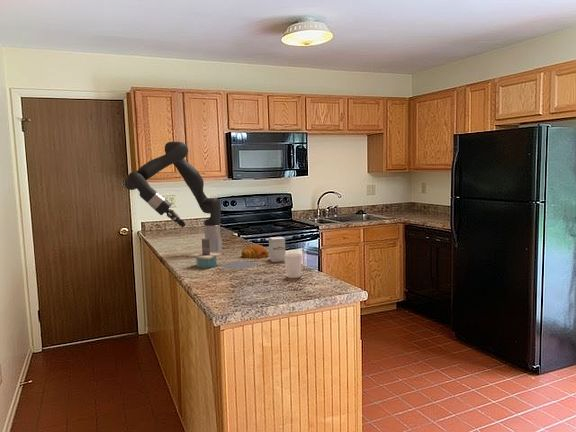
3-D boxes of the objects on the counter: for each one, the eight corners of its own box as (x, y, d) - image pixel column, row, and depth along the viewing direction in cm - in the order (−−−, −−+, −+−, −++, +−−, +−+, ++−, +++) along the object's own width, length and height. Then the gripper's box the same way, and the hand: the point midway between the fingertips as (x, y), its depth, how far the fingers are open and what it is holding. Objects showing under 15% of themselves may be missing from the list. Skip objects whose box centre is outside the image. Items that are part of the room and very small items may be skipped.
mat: (236, 261, 241) (236, 260, 241) (261, 264, 233) (261, 263, 233) (217, 267, 228) (217, 266, 227) (243, 270, 220) (243, 269, 219)
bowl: (205, 263, 238) (205, 253, 237) (220, 265, 233) (220, 254, 232) (192, 267, 229) (192, 257, 229) (208, 269, 224) (207, 258, 224)
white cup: (292, 273, 210) (291, 252, 209) (305, 275, 205) (305, 254, 204) (281, 276, 204) (280, 255, 203) (295, 279, 199) (294, 257, 198)
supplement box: (272, 263, 235) (271, 239, 234) (269, 260, 243) (268, 237, 241) (285, 261, 237) (285, 238, 236) (282, 259, 244) (281, 236, 243)
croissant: (238, 261, 255) (235, 247, 254) (260, 253, 264) (257, 240, 263) (252, 263, 244) (250, 249, 242) (274, 256, 253) (272, 242, 252)
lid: (204, 252, 239) (204, 236, 238) (224, 254, 233) (223, 237, 232) (188, 257, 228) (187, 240, 227) (207, 259, 222) (206, 241, 221)
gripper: (164, 198, 216) (189, 221, 220) (164, 197, 229) (188, 218, 233) (153, 210, 215) (179, 232, 219) (154, 208, 228) (178, 229, 233)
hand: (184, 225), depth 226 cm, fingers open, 8 cm apart
